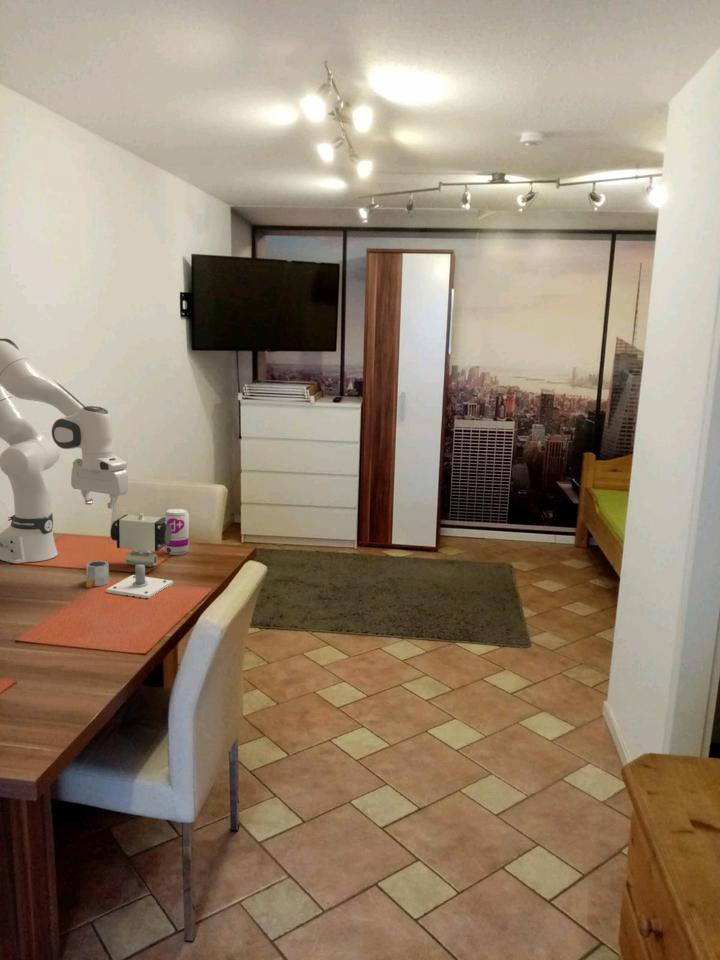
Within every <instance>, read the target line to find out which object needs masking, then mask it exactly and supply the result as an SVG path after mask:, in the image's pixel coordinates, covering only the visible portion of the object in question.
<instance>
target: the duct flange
mask: <svg viewBox="0 0 720 960" xmlns="http://www.w3.org/2000/svg"><path fill="white" fill-rule="evenodd" d="M134 571H135V574H132V575H130V576H127V577H126V578H124V579H122V580H121V581H118V582H117V583H115V584H114V585H112V586H109V587H108V588H106V589H105V592H106V593H109V594H114V595H115V594H116V595H119V596H120V595H121V596H126V595H128V597H132V596H135V597H134V598H139V597H141V598H140V599H145V598H149V599H151V598H152V597H151V596H153V595H154V596H156V595H157V594H156V593H158V592H159V591H161V590H162V591H164V590H165V589H164V588H166V587H167V588H169V587H171V586H172V585H173V584H174V581H173V580H168V579H163V578H156V577H151V576H146V566H145V565H142V564H139V565H136V566H134ZM168 586H169V587H168ZM167 588H166V589H167ZM163 589H164V590H163ZM162 591H161V592H162ZM159 593H160V592H159ZM159 593H158V594H159ZM155 594H156V595H155ZM154 596H153V597H154ZM150 597H151V598H150Z"/></svg>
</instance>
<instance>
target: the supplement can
mask: <svg viewBox="0 0 720 960" xmlns="http://www.w3.org/2000/svg"><path fill="white" fill-rule="evenodd" d="M164 517H165V518H166V522H167V524H169V525H170V526H171V529H172V536H171V540H170V543H169V544H168V545H165V546H164V552H165V554H167V553H169V554H168V555H170V554H171V555H170V556H181V555H185V554H188V552H189V550H190V549H189V547H190V543H189V542H190V539H189V538H190V535H189V533H190V527H189V526H190V515H189V512H188V510H187V509H184V508H170V509H169V508H167V510H166V512H165V513H164Z"/></svg>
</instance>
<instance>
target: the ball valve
mask: <svg viewBox="0 0 720 960" xmlns="http://www.w3.org/2000/svg"><path fill="white" fill-rule="evenodd" d="M171 536H172V529H171V526H170V525H169V524H167V522H166V518H165V516H164V517H163V516H151V515H144V512H140V513H138V515H135V514H124V515H122V516H121V517H119V518H116V520H114V521H113V522H112V524H111V527H110V538H111V540H112V541H113V542H115V544H116V549H122V550H123V549H124V550H132V551H129V552H127V554H126V556H125V562H126V564H127V565H130V566H134V567H135V566H136V565H139V564H142V565H145V567H146V566H147V567H149V568H151V567H154V566H156V565H157V563H158V555H157V554H156V553H154V552H159V551H161V549H163V548H165V545H168V544H169V543H170V540H171Z"/></svg>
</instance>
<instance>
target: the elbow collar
mask: <svg viewBox="0 0 720 960" xmlns="http://www.w3.org/2000/svg"><path fill="white" fill-rule="evenodd" d="M109 566H110V565H109V563H108V561H107V560H106V561H104V560H93V561H90V562H87V563H86V567H85V569H86V581H85V587H86V588H88V589H91V588H93V587H101V586H102V587H103V586H105V584H106V585H108V584H109V583H110V573H109V572H110V568H109Z"/></svg>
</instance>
